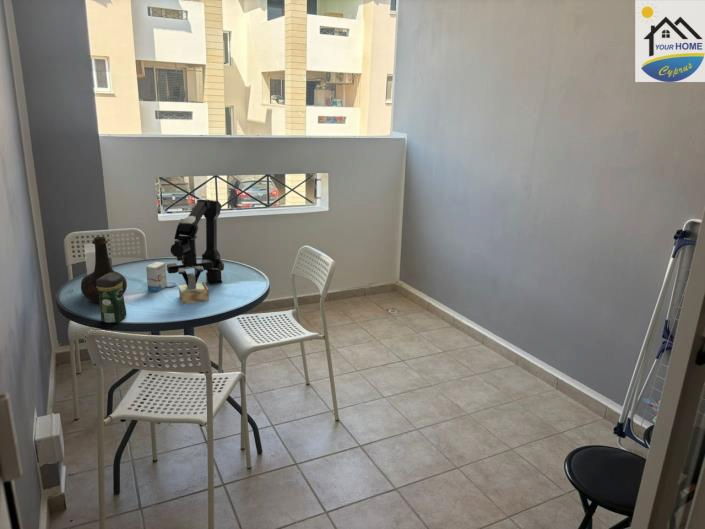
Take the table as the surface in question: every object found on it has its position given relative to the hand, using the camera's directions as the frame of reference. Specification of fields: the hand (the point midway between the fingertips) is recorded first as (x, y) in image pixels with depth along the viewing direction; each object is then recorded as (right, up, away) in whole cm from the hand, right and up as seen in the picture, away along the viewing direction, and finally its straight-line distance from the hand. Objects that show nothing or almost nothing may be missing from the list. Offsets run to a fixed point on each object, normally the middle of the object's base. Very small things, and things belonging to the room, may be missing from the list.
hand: (191, 285), depth 226 cm
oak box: (+1, -6, +2) cm, 6 cm away
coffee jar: (-24, -13, -21) cm, 35 cm away
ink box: (-20, -2, +13) cm, 24 cm away
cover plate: (0, -2, +1) cm, 2 cm away
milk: (-45, -3, +9) cm, 46 cm away
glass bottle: (-37, -6, -2) cm, 37 cm away
